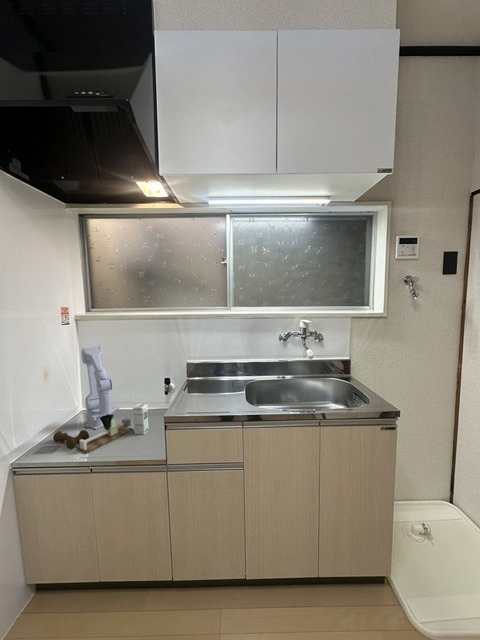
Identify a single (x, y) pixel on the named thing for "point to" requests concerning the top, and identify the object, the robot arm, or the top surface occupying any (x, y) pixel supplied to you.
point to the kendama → (70, 438)
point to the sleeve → (113, 428)
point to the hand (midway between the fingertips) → (107, 428)
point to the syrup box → (141, 418)
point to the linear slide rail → (125, 424)
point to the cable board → (104, 440)
